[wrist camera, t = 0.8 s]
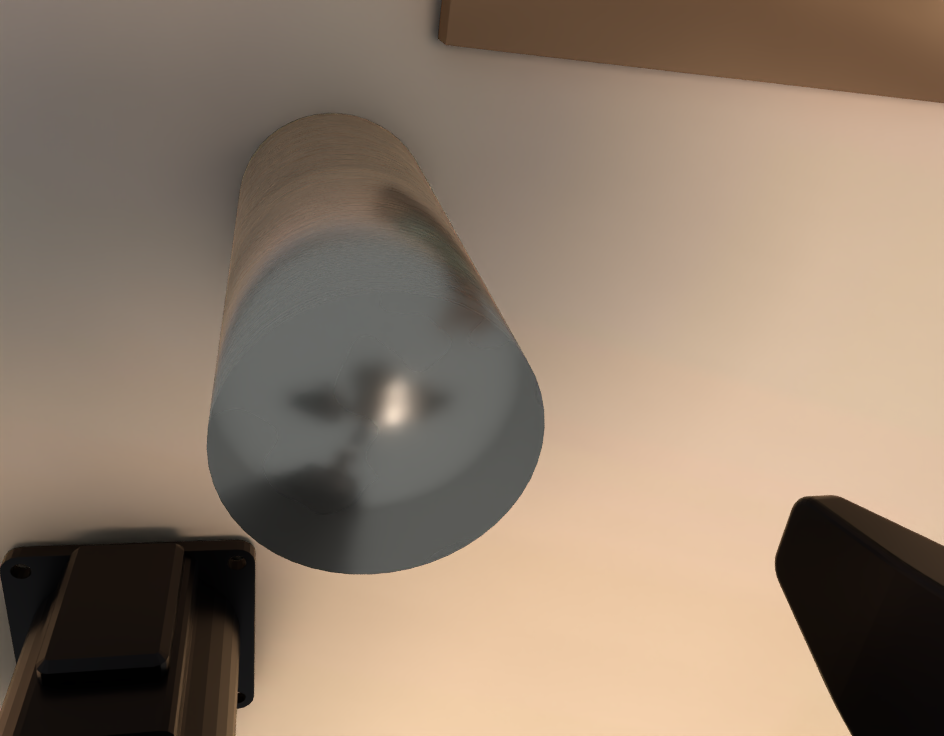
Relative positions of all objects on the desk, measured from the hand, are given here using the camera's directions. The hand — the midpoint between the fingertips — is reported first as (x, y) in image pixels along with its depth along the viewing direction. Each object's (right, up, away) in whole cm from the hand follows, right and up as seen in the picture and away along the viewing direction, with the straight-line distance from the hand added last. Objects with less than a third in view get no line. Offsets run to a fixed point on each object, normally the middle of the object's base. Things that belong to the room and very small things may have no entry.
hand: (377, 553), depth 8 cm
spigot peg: (-2, +6, +11) cm, 13 cm away
